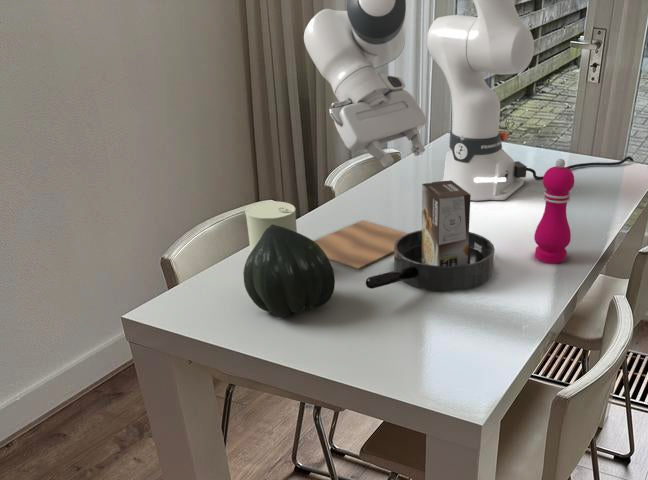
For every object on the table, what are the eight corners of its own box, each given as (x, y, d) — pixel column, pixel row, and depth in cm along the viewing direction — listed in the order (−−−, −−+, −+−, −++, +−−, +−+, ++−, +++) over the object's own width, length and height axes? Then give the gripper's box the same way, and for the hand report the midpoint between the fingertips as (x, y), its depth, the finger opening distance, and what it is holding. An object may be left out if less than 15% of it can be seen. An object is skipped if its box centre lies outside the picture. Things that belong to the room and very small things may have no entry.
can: (290, 279, 143) (284, 217, 137) (243, 274, 145) (236, 212, 138) (307, 260, 151) (303, 201, 144) (263, 255, 152) (256, 196, 146)
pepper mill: (547, 248, 160) (557, 151, 149) (575, 258, 156) (588, 159, 145) (525, 256, 156) (533, 158, 145) (552, 267, 152) (564, 166, 141)
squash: (345, 295, 126) (325, 209, 127) (253, 311, 121) (233, 222, 123) (335, 318, 139) (317, 240, 141) (252, 333, 135) (234, 252, 137)
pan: (432, 244, 160) (433, 221, 157) (511, 268, 151) (513, 244, 148) (374, 273, 147) (373, 249, 144) (456, 301, 138) (457, 276, 135)
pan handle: (412, 273, 142) (412, 253, 140) (421, 276, 141) (421, 255, 139) (363, 299, 132) (363, 277, 130) (372, 302, 131) (372, 280, 129)
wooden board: (362, 222, 169) (362, 220, 169) (420, 239, 162) (420, 237, 162) (298, 249, 155) (298, 247, 155) (358, 270, 148) (358, 268, 148)
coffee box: (468, 277, 146) (472, 194, 138) (437, 281, 144) (439, 198, 135) (449, 258, 153) (452, 179, 145) (419, 263, 151) (420, 182, 142)
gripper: (333, 93, 132) (378, 161, 133) (407, 76, 147) (447, 138, 147) (316, 115, 137) (359, 181, 137) (389, 97, 151) (428, 157, 152)
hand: (405, 158), depth 142 cm, fingers open, 8 cm apart
